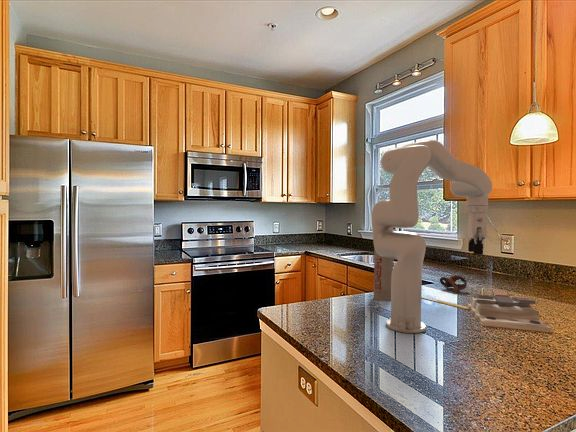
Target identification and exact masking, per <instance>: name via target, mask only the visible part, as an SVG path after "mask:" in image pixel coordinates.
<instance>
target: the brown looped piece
mask: <svg viewBox="0 0 576 432" xmlns="http://www.w3.org/2000/svg"><path fill="white" fill-rule="evenodd" d="M459 280H460V281H461V282H463V283H456V282H457V281H459ZM439 282H440V284H441V285H442V286H444V288H445V289H448V288H453V289H452V292H454V293H456V292H458V291H463V290H465V289H466V288H467V287H468V285H467V280H466V279H465V278H464V277H463V276H460V275H457V274H456V275H455V274H453V275H451V276H449V277H447V276H442V277H440V279H439Z"/></svg>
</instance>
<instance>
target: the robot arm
mask: <svg viewBox="0 0 576 432" xmlns="http://www.w3.org/2000/svg"><path fill="white" fill-rule="evenodd" d="M380 163H381V167H382V169H383V170H384V171H385V172H386V173H387V174H390V175H392V177H391V180H390V183H389V199H382V200H380V201H378V202H376V203H375V205H374V206H373V208H372V211H371V229H372V231H371V232H372V237H373V238H372V239H373V247H374V248H375V251H376V252H377V254H378V255H380V256H382V257H386V258H391V259H393V260H397V262H396V263H395V265H393V270H392V275H391V300H390V318H388V319H386V320H385V325H386V327H387V328H388V329H391V330H393V331H395V332H399V333H404V334H419V333H420V334H421V333H423V332H425V331H426V330H427V325H426V324H425V323H424V322H422V298H421V297H422V290H423V289H422V287H423V286H422V282H423V280H422V279H423V265H424V260H425V259H424V258H425V255H426V248H427V244H426V241H425V239H424V237H422V236H421V234H418V233H415V232H411V231H395V230H394V229H395V228H396V229H412V228H414V227H416V226H417V224H418V222H419V201H418V200H419V199H418V182H419V179H420V177H421V175H422V174H423V173H424V171H425V170H426V169H427V167H428V168H429V170H431V171H432V172H433V173H434V174H435V175H437V177H438V178H440V179H442V180H446V181H451V183H450V184H449V185H450V186H449V190H450V192H451V194H452V195H454V196H455V197H457V198H458V197H459V198H466V210H465V211H466V212H465V214H467V215H468V224H467V236H468V246H467V247H468V252H469V253H473V255H481V256H483V255H484V240H486V239H487V217H486V216H487V215H488V214H489V213H488V212H489V211H488V209H489V195H490V194H491V192H492V190H493V182H492V180H491V178H490V176H489V175H488V174H487V173H486V171H484V170H483V169H482V168H480V167H478V166H476V165H474V164H470V163H468V162H465V161H462V160H459V159H457V158H456V156H454V155H453V154H452V153H451V152H450V150H448V148H446V146H444V145H443V144H442V142H441V141H439V140H436V139H427V140H422V141H418V142H417V141H416V142H412V143H409V144H405V145H403V146H402V145H401V146H399V147H395V148H393V149H392V148H391V149H389V150H386V152H385V153H384V154H383V155H382V157H381V161H380Z"/></svg>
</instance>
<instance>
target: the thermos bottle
mask: <svg viewBox="0 0 576 432" xmlns="http://www.w3.org/2000/svg"><path fill="white" fill-rule="evenodd" d="M373 250H374V251H373V252H374V255H373V258H374V259H373V272H374V273H373V274H374V276H373V299H375V300H378V301H381V302H382V301H384V302H385V301H386V302H387V301H389V302H390V301H391V275H392V270H393V268H394V259H391V258H386V257H382V256H380V255H378V254H377V252H376V251H375V248H374V249H373Z"/></svg>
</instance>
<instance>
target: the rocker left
mask: <svg viewBox="0 0 576 432" xmlns="http://www.w3.org/2000/svg"><path fill="white" fill-rule="evenodd" d="M473 297H474V298H477V299H489V300H494V299H495V298H494V297H493V295H487V294H486V295H485V294H476V293H474V294H473Z"/></svg>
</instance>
